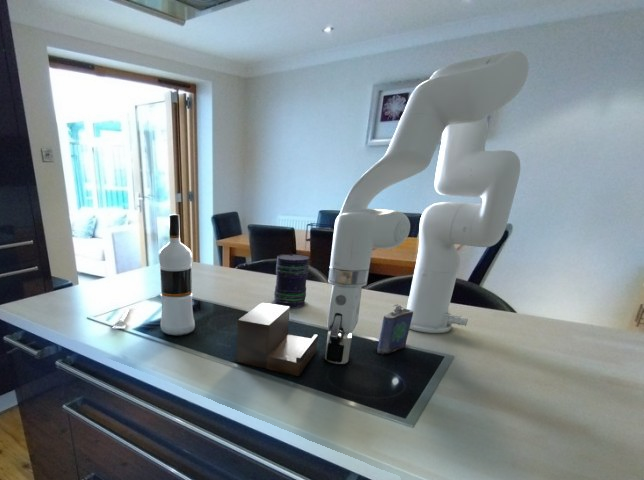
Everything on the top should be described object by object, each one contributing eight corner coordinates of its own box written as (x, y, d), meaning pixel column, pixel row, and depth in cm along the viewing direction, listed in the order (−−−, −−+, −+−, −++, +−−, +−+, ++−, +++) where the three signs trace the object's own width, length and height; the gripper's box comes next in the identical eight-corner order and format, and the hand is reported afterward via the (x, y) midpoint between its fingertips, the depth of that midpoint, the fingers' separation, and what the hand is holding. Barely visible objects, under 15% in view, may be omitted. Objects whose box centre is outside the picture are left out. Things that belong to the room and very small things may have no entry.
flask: (384, 355, 89) (392, 310, 84) (372, 350, 91) (380, 307, 87) (408, 346, 93) (417, 303, 89) (396, 342, 95) (405, 300, 91)
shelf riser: (316, 351, 91) (320, 311, 87) (298, 376, 80) (303, 331, 76) (259, 340, 98) (261, 302, 94) (236, 361, 87) (237, 319, 83)
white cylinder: (350, 357, 88) (354, 332, 86) (345, 366, 84) (349, 340, 82) (327, 352, 90) (330, 328, 88) (322, 361, 86) (325, 336, 84)
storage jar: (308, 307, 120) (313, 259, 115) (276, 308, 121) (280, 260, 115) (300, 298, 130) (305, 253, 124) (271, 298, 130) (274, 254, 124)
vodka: (154, 333, 103) (147, 215, 91) (171, 322, 111) (167, 212, 99) (184, 339, 99) (181, 216, 88) (200, 327, 107) (199, 213, 95)
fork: (135, 309, 122) (134, 303, 121) (122, 333, 103) (121, 326, 103) (124, 309, 122) (124, 303, 121) (109, 333, 103) (109, 326, 103)
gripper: (360, 288, 71) (347, 375, 78) (373, 269, 85) (361, 345, 92) (319, 283, 75) (309, 367, 82) (337, 266, 88) (328, 339, 95)
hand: (337, 354), depth 87 cm, fingers closed on white cylinder, 5 cm apart
